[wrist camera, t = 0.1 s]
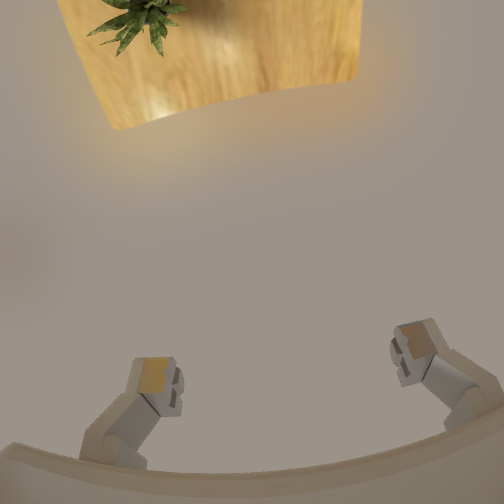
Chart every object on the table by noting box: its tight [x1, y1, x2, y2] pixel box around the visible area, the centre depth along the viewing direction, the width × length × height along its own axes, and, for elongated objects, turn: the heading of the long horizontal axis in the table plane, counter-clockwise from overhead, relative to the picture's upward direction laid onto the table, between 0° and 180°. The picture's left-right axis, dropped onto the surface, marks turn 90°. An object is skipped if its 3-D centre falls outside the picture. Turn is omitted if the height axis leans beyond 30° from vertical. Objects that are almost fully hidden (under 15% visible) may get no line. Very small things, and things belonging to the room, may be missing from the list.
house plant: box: [87, 0, 189, 56], centre depth 32 cm, size 14×14×16 cm
